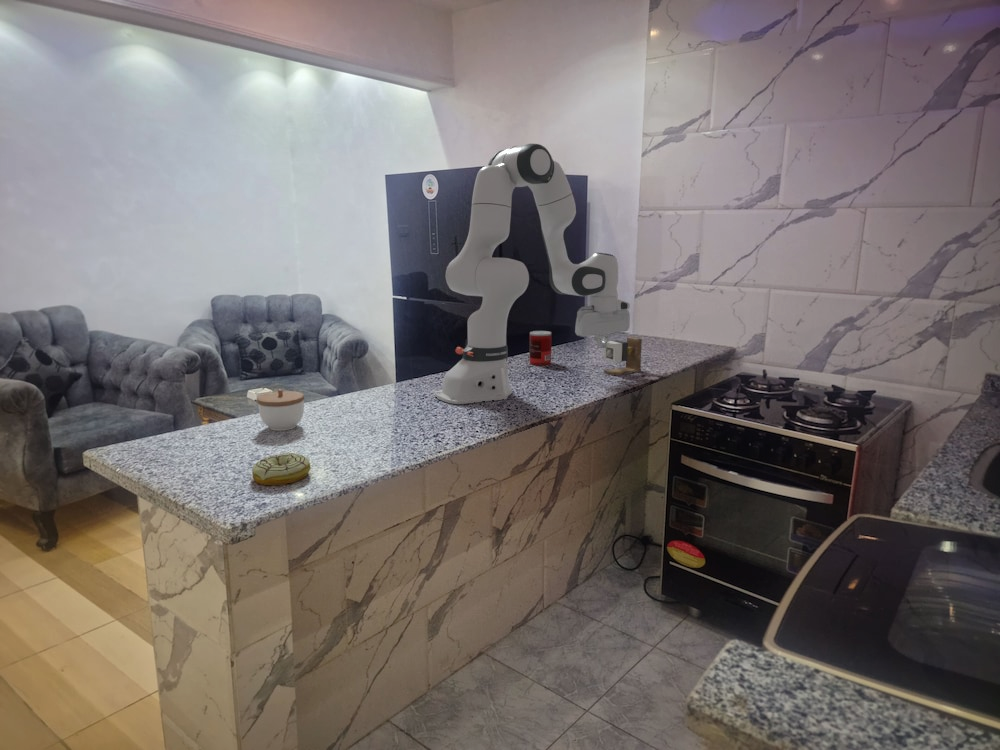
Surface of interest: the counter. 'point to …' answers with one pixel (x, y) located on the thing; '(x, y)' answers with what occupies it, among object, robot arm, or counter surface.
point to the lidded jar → (281, 409)
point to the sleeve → (616, 351)
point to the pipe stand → (629, 357)
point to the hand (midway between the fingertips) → (602, 347)
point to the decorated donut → (281, 469)
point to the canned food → (540, 347)
